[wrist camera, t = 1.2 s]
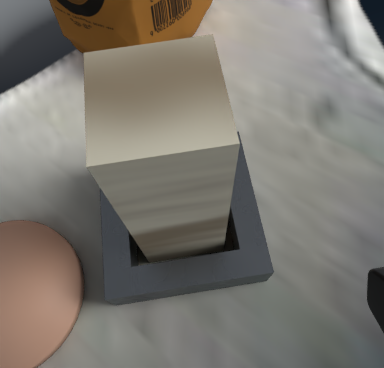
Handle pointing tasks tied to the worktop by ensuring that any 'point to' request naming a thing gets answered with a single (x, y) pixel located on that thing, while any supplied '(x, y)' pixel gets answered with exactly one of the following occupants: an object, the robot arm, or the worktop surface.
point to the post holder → (187, 267)
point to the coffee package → (127, 21)
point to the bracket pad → (36, 292)
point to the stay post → (163, 143)
